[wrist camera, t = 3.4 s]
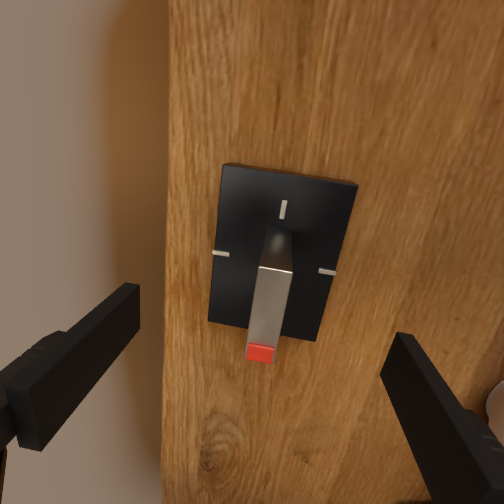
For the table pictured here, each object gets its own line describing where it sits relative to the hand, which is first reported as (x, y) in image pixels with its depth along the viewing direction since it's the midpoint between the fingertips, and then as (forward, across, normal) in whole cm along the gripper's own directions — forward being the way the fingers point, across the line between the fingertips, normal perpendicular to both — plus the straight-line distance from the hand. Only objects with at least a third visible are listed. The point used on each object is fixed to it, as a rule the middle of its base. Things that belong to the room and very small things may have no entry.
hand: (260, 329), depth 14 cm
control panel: (+12, 0, 0) cm, 12 cm away
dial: (+9, 0, 0) cm, 9 cm away
